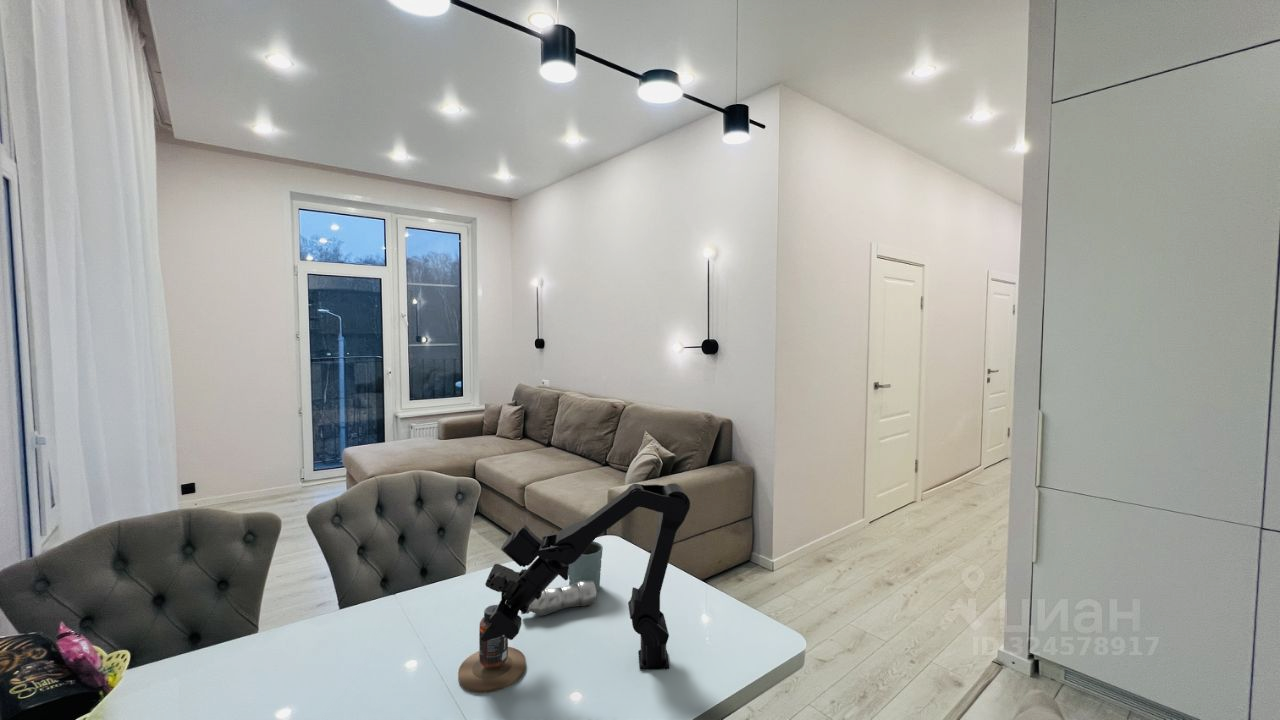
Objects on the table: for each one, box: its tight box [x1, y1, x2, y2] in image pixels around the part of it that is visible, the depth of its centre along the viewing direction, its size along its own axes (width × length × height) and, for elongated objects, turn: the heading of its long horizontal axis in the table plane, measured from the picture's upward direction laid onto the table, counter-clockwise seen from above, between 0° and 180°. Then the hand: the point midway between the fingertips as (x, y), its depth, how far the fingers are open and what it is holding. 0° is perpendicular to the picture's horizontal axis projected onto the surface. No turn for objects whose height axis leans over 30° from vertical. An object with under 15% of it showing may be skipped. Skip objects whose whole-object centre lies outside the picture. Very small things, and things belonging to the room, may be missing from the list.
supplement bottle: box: [478, 604, 509, 667], centre depth 111 cm, size 6×6×11 cm
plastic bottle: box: [520, 579, 597, 616], centre depth 135 cm, size 6×7×20 cm
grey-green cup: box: [568, 540, 604, 593], centre depth 147 cm, size 10×10×12 cm
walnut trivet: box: [457, 646, 527, 694], centre depth 111 cm, size 14×14×1 cm
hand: (486, 631), depth 111 cm, fingers closed on supplement bottle, 6 cm apart
